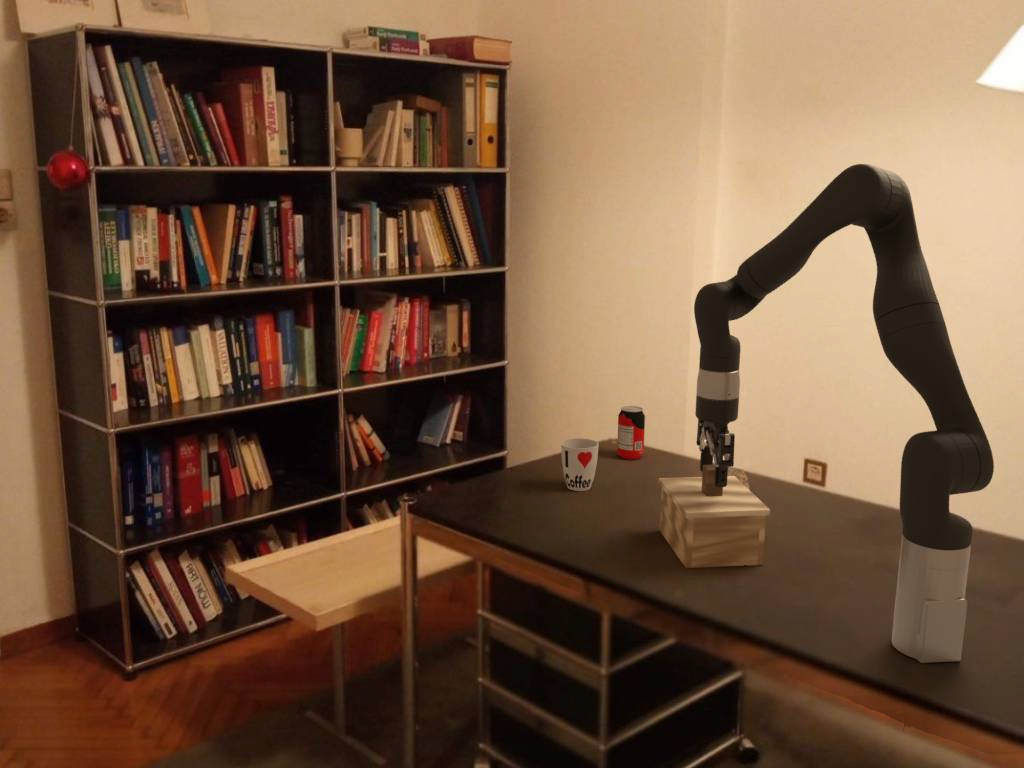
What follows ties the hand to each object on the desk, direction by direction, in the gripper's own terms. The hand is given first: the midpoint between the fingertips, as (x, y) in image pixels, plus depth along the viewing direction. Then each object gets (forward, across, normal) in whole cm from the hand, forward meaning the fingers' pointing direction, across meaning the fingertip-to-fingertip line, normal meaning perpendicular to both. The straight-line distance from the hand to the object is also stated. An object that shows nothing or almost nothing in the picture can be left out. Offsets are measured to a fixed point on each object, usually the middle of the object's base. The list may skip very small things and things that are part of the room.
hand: (712, 478), depth 182 cm
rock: (+14, +30, -14) cm, 36 cm away
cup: (+14, +36, +18) cm, 42 cm away
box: (+13, 0, 0) cm, 13 cm away
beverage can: (+14, +57, +2) cm, 58 cm away
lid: (+4, 0, 0) cm, 4 cm away
